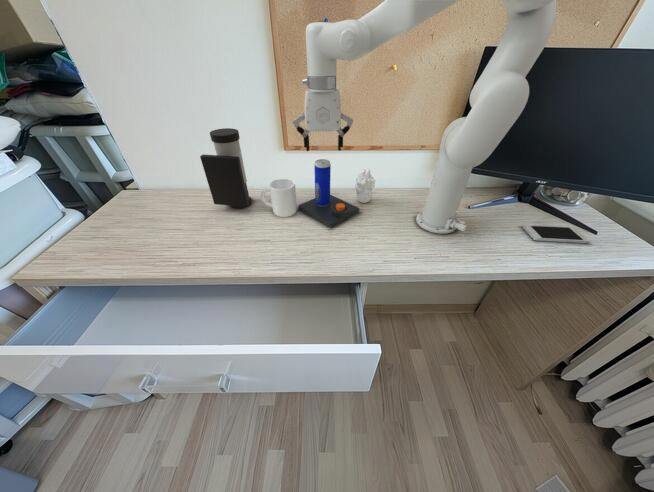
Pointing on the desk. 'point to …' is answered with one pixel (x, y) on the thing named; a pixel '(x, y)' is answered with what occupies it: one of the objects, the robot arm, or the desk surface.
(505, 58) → the robot arm
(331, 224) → the scale
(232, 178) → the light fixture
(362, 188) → the figurine
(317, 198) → the beverage can
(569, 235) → the smartphone
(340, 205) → the tare button
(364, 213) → the desk surface
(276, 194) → the mug
